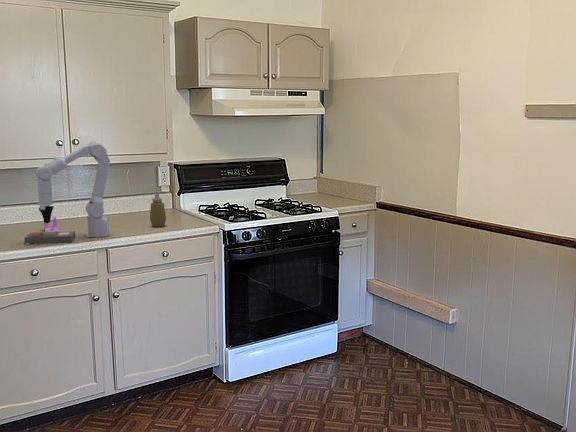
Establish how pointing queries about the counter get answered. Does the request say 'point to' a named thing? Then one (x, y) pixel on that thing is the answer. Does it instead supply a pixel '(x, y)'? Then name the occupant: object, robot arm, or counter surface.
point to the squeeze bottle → (157, 212)
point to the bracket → (53, 225)
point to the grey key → (50, 233)
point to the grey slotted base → (51, 238)
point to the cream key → (64, 233)
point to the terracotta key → (36, 233)
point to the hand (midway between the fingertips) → (47, 222)
